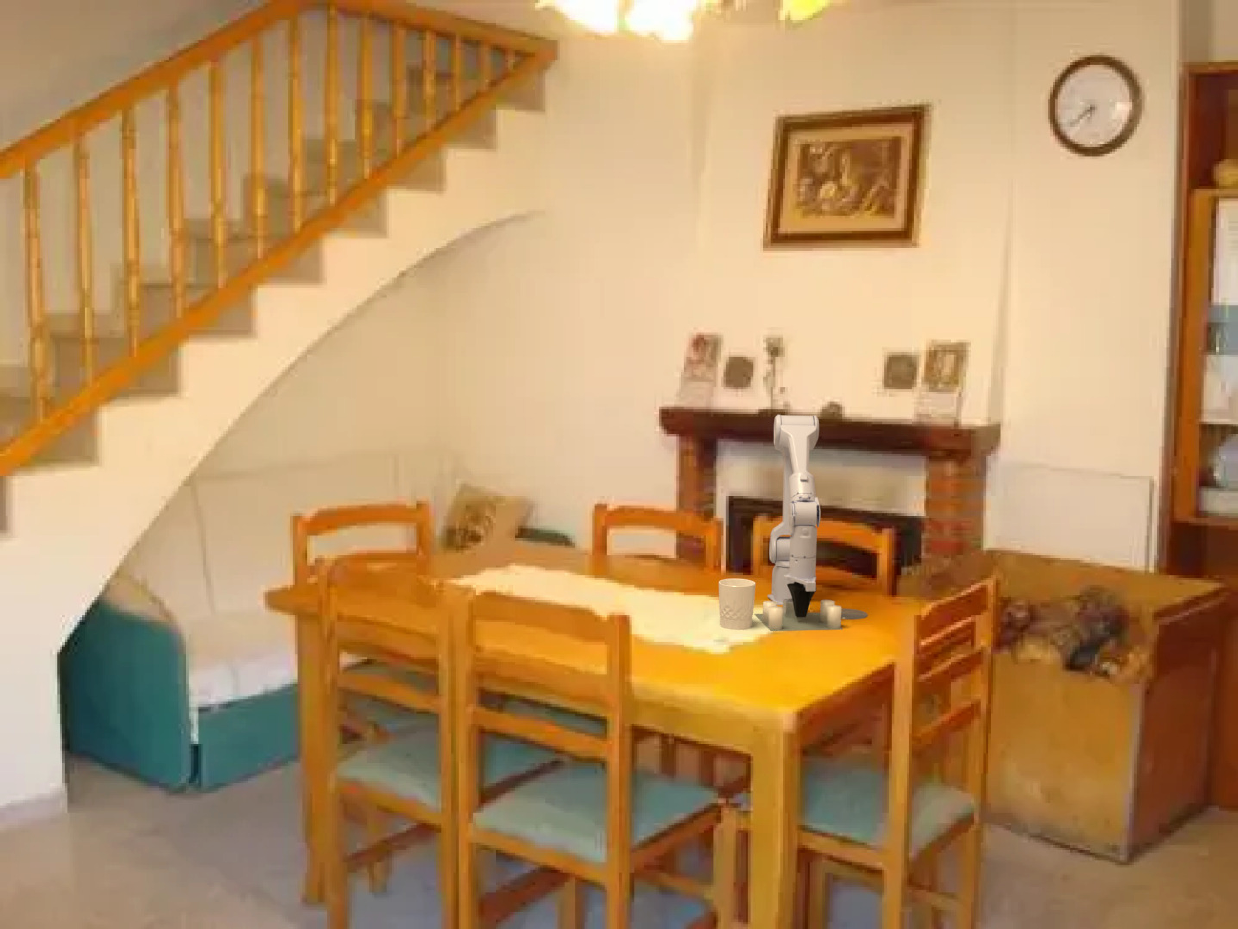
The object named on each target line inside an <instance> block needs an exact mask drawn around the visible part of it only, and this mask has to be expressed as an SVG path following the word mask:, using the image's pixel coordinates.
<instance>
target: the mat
mask: <svg viewBox="0 0 1238 929" xmlns="http://www.w3.org/2000/svg"><path fill="white" fill-rule="evenodd" d="M753 614H754V616H755V617H756V618H757V619H759V621H760V622H761V623H762V624H763V625H764V626H765V627H766V628H767V629H768V630H769V631H770V632H785V631H786V632H790V631H791V632H792V631H793V632H794V631H830V630H831V631H833V630H834V631H836V630H837V631H838V630H840V631H841V630H844V629H843V627H841V628H839V629H831V628H827V623H823V622H820V612H807V615H806V617H804V618H799V619H794V618H785V617H784V616H783V624H782V629H781V630H771V629H769V628H768V624H764V623H763V613H753Z"/></svg>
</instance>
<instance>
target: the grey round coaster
mask: <svg viewBox="0 0 1238 929" xmlns="http://www.w3.org/2000/svg"><path fill="white" fill-rule="evenodd" d="M867 617H868V613H867V612H865V611H863V610H859V609H854V608H853V609H852V608H841V620H861V619H865V618H867Z"/></svg>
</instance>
